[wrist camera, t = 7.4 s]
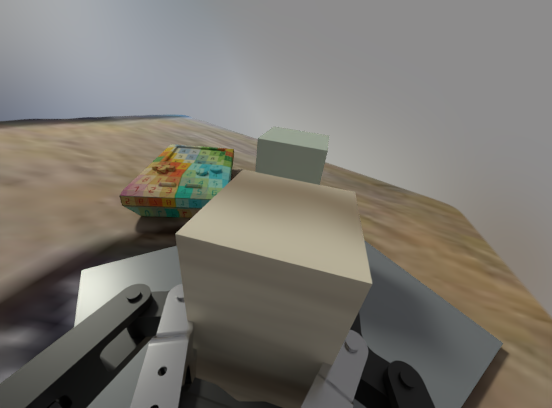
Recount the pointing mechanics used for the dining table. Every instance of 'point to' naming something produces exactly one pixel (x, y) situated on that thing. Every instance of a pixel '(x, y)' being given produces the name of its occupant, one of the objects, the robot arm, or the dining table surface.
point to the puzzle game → (179, 181)
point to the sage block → (292, 154)
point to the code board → (373, 318)
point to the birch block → (272, 284)
